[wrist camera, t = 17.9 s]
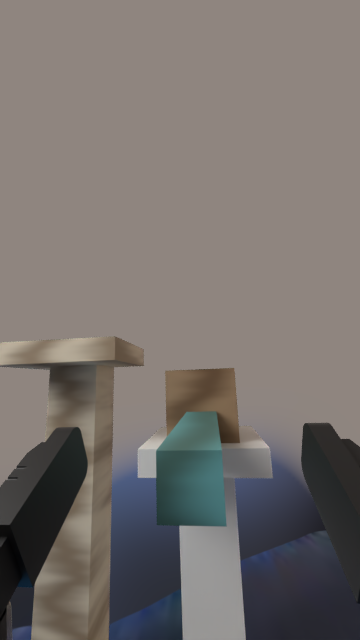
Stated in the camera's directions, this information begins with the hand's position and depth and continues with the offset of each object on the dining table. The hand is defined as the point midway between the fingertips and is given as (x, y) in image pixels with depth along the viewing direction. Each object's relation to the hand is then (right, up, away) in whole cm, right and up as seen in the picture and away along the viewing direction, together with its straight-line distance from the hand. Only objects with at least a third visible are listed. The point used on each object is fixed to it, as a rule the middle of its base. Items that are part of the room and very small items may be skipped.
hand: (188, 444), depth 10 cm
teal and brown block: (+1, -5, +10) cm, 11 cm away
